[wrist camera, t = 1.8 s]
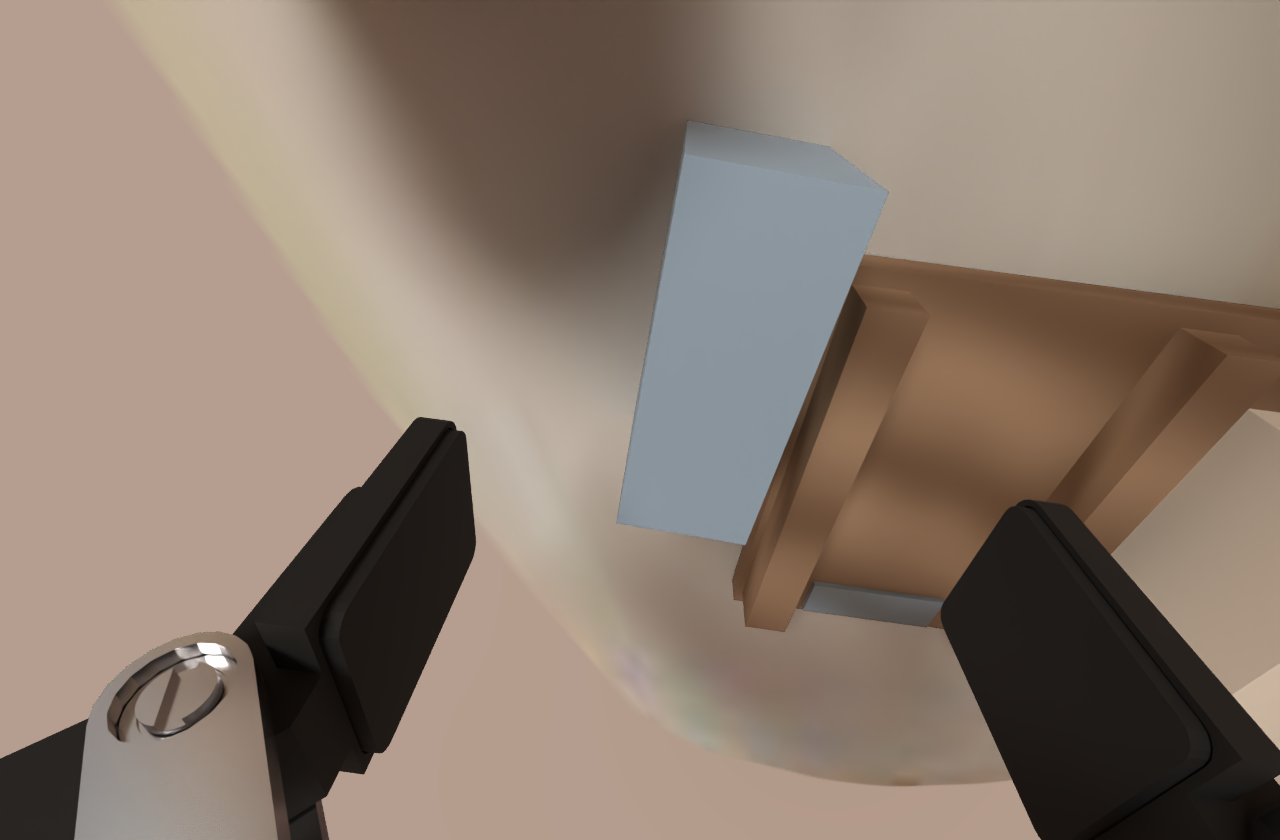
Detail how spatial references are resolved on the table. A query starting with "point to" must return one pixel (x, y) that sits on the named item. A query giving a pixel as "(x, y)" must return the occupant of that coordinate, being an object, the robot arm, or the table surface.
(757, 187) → the blue stub
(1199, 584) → the ivory stub
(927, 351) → the slot rack
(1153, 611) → the robot arm
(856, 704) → the table surface
